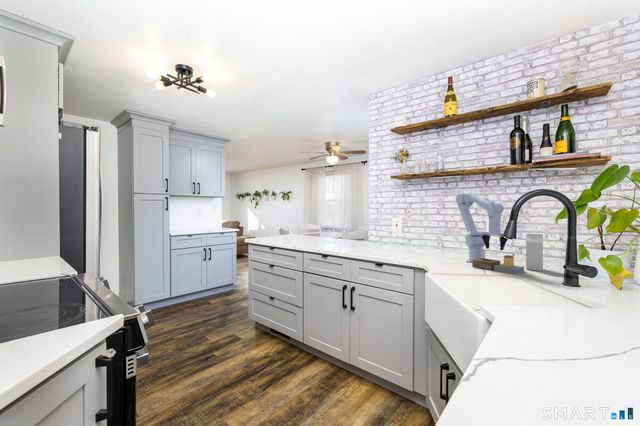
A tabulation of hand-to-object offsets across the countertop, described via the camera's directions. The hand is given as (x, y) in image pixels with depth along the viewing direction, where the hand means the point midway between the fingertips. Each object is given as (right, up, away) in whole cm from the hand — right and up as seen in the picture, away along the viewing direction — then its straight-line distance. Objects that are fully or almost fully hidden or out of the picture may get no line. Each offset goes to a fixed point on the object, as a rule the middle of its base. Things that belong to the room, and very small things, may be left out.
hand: (494, 249), depth 162 cm
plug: (+1, -10, -11) cm, 15 cm away
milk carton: (+17, -10, -6) cm, 21 cm away
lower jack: (+1, -10, -11) cm, 15 cm away
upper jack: (-5, -10, -1) cm, 11 cm away
